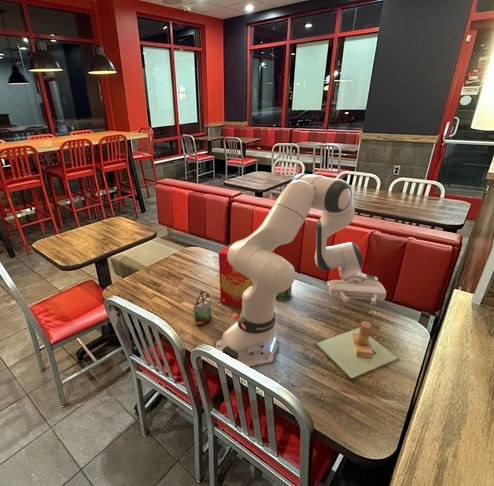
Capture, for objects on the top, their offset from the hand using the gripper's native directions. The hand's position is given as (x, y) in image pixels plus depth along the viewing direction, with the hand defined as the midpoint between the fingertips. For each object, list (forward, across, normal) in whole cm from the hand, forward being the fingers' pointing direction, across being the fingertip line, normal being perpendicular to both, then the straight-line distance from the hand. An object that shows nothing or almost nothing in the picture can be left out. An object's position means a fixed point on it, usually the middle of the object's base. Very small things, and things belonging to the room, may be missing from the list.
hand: (359, 302), depth 115 cm
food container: (+4, -58, +12) cm, 60 cm away
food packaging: (-8, -47, +12) cm, 49 cm away
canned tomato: (-17, -28, +12) cm, 35 cm away
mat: (+13, -2, +12) cm, 18 cm away
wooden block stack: (+12, 0, +11) cm, 16 cm away
